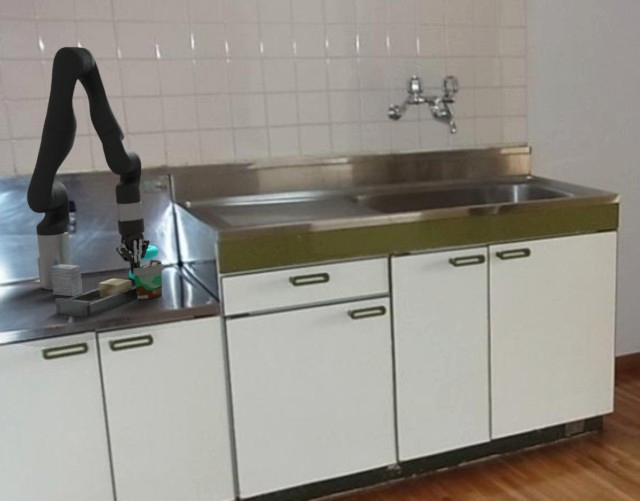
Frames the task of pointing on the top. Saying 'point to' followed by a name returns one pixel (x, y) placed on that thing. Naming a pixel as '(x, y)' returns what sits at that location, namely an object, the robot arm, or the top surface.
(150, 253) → the donuts
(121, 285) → the beech block
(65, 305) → the chute
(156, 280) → the food container
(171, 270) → the top surface
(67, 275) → the medicine box
